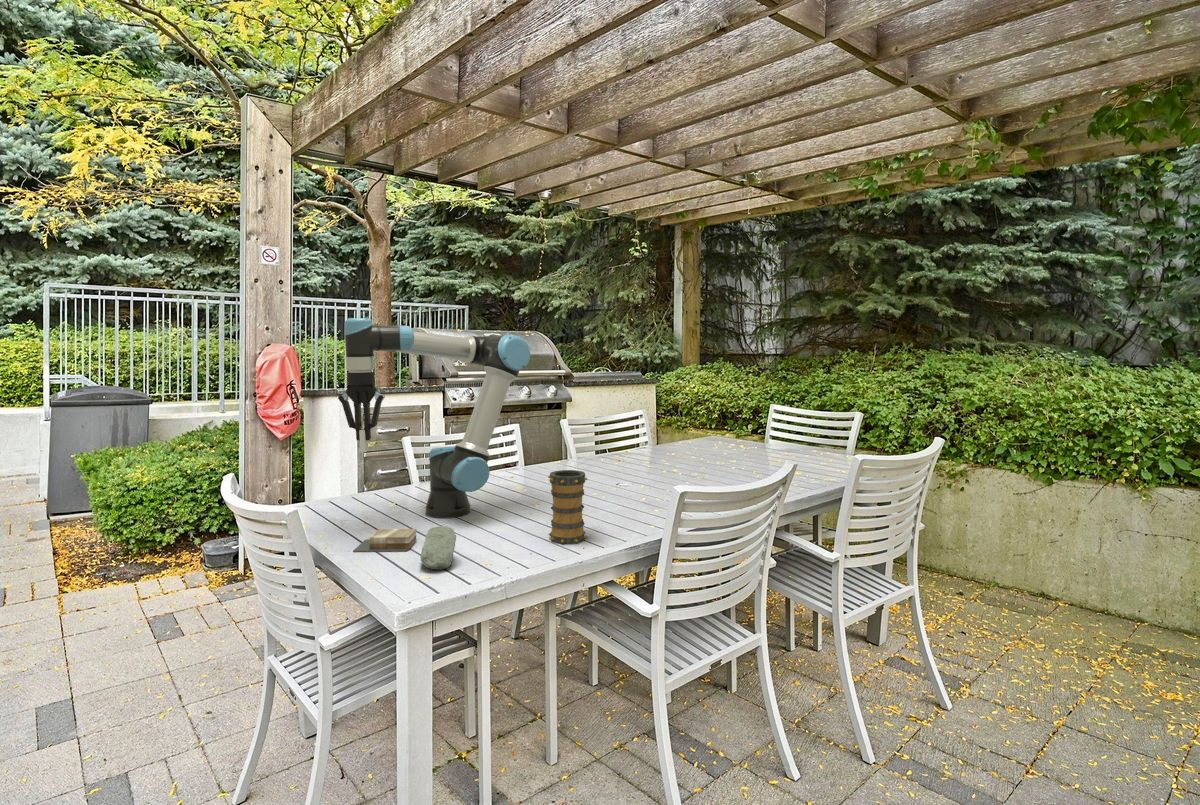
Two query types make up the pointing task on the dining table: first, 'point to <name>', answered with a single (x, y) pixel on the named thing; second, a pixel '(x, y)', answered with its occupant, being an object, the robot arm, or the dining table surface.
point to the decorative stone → (438, 547)
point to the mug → (567, 506)
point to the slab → (392, 539)
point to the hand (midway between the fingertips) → (364, 451)
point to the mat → (366, 548)
